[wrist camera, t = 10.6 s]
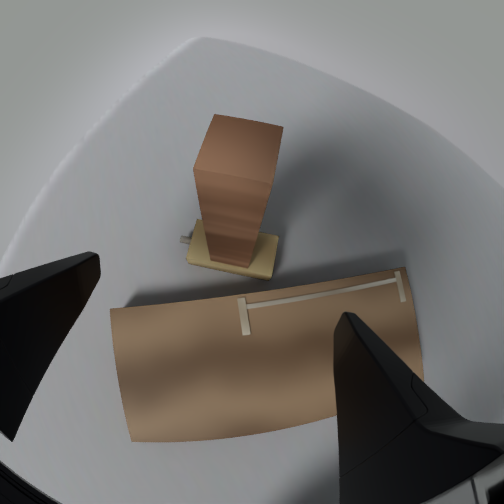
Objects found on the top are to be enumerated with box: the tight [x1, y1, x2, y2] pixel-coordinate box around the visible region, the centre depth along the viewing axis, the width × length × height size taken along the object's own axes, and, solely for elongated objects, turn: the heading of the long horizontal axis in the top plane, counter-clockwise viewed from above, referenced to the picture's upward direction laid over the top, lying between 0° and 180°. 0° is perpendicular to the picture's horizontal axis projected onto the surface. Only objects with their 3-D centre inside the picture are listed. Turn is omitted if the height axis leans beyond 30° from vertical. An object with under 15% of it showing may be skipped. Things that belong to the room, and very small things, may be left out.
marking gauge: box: [180, 114, 283, 281], centre depth 15 cm, size 3×7×12 cm, turn 79°
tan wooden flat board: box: [110, 267, 424, 442], centre depth 18 cm, size 10×22×2 cm, turn 99°
